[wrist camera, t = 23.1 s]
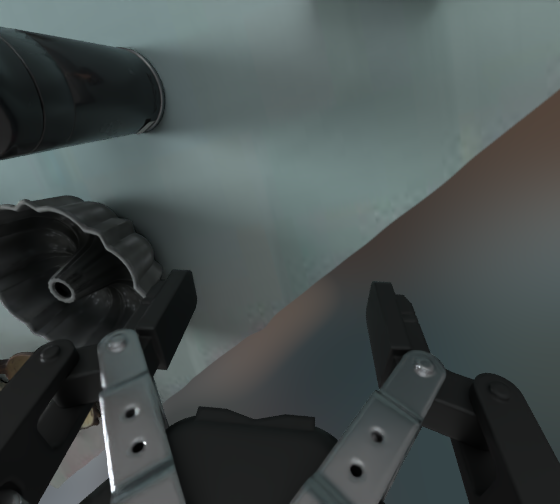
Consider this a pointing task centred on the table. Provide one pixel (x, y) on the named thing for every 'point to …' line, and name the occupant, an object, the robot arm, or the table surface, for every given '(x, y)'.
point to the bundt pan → (72, 268)
